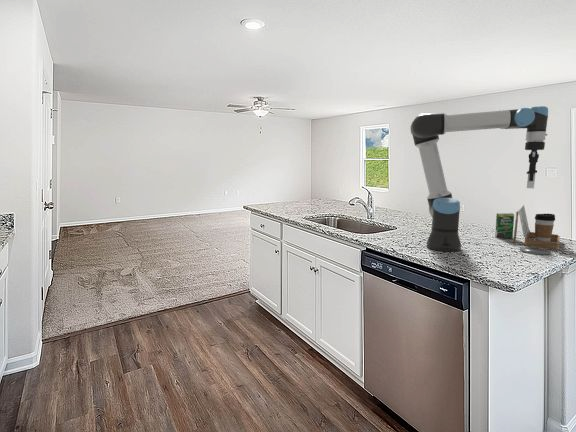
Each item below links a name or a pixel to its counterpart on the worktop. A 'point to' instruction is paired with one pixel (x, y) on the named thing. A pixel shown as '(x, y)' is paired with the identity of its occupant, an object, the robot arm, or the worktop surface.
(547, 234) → the coffee cup
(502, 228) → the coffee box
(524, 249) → the disc
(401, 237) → the worktop surface
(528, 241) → the frame
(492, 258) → the worktop surface
